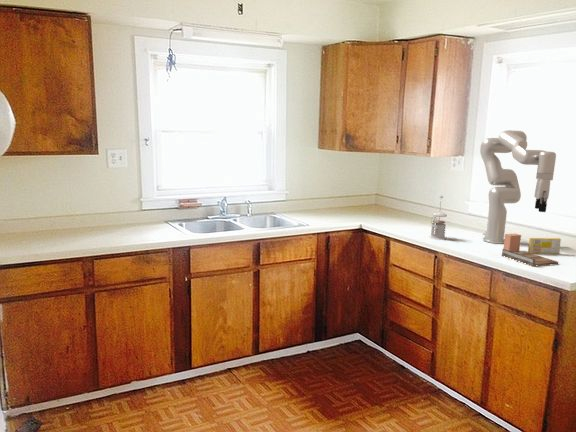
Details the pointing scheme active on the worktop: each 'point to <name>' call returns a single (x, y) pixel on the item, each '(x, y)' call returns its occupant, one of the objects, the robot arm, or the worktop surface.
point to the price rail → (518, 256)
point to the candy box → (544, 245)
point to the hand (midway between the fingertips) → (540, 210)
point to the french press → (438, 226)
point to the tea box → (512, 242)
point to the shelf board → (538, 259)
